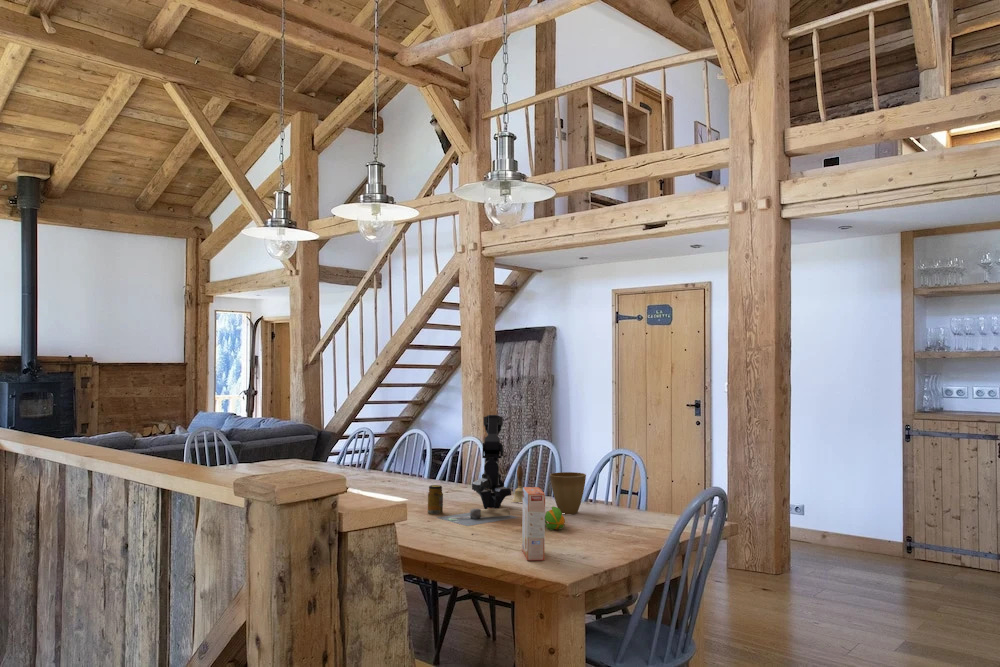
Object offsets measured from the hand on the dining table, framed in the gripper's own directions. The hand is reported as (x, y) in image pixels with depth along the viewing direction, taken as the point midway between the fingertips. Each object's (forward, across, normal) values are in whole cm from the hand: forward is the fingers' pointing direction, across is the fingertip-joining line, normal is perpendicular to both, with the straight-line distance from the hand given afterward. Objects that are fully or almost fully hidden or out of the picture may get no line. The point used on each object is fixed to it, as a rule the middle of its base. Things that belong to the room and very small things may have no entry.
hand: (490, 510), depth 303 cm
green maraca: (+2, +28, +8) cm, 29 cm away
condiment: (+4, -16, -16) cm, 22 cm away
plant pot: (+2, +12, +31) cm, 33 cm away
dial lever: (+1, +3, -7) cm, 8 cm away
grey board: (+3, +1, -7) cm, 8 cm away
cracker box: (+2, +56, -27) cm, 63 cm away
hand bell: (+3, -20, +32) cm, 38 cm away
